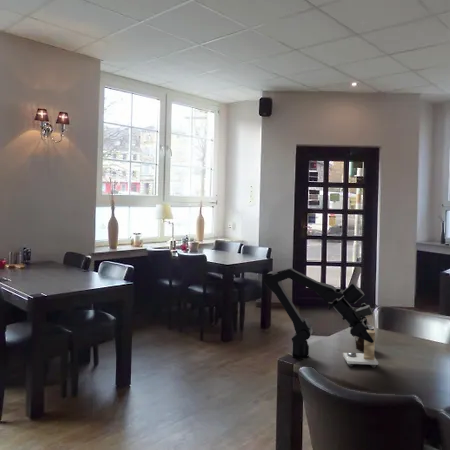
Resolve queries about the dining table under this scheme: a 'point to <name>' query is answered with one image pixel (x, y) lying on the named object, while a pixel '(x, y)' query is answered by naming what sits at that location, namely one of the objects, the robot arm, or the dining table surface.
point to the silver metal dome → (351, 354)
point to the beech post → (369, 346)
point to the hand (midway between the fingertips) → (373, 339)
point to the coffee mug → (361, 340)
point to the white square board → (359, 360)
